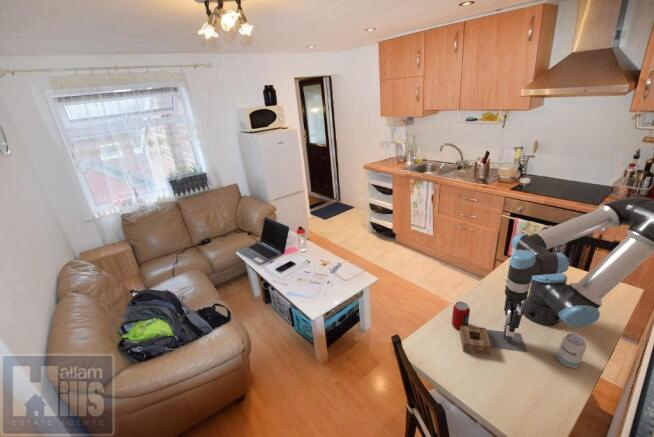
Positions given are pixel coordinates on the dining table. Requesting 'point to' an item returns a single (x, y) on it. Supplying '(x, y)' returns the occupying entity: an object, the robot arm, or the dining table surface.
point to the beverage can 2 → (571, 350)
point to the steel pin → (506, 327)
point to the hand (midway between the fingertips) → (508, 331)
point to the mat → (501, 343)
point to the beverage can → (460, 315)
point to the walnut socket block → (475, 340)
